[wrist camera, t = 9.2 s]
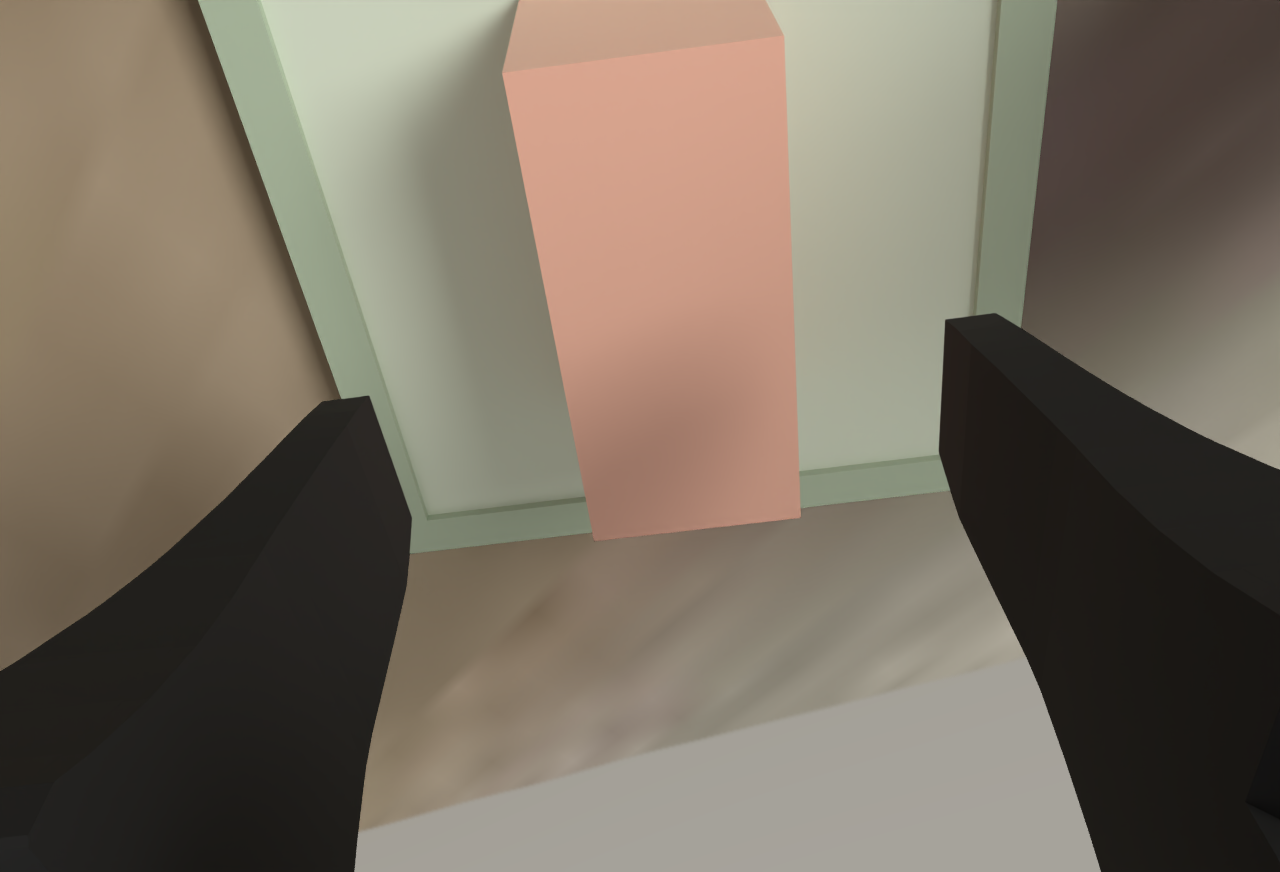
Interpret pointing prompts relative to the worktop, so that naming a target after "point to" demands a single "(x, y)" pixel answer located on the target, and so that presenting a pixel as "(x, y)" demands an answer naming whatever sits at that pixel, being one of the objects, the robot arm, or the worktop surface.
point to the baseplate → (508, 260)
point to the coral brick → (664, 252)
